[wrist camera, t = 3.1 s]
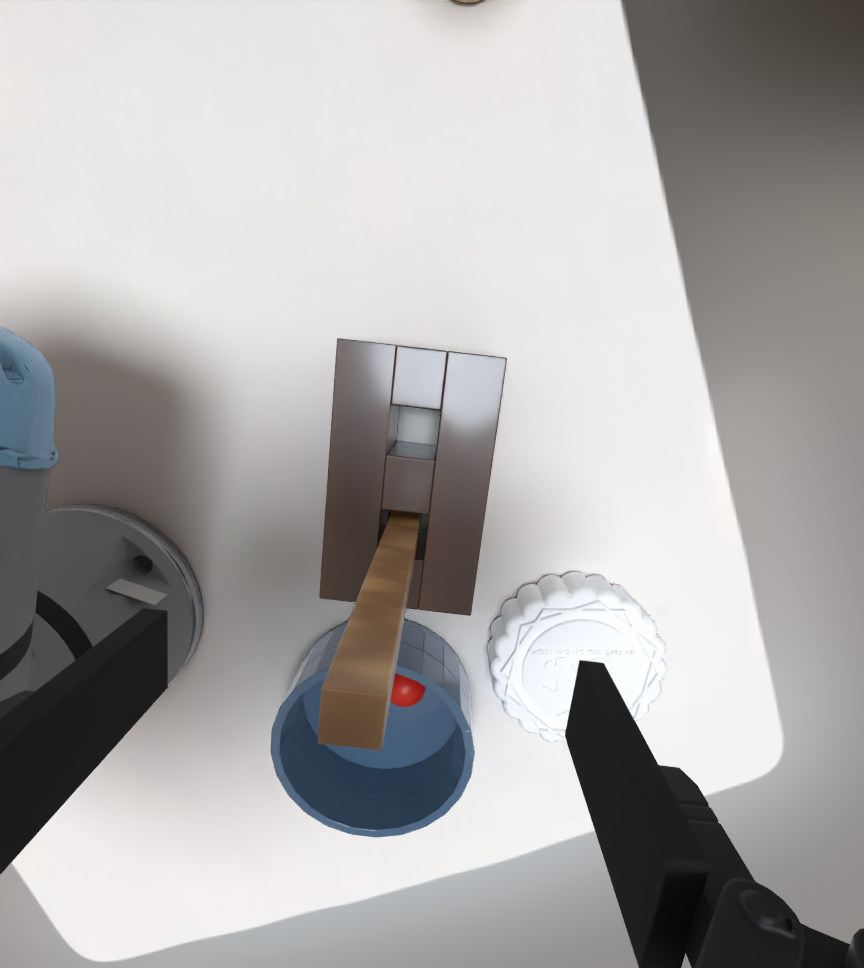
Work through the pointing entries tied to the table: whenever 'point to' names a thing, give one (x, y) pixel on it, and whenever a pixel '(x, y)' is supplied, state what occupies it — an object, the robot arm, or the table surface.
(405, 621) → the bowl
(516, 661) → the mooncake
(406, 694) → the tomato
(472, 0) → the sprinkles bottle
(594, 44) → the table surface
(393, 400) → the block
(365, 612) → the stick
